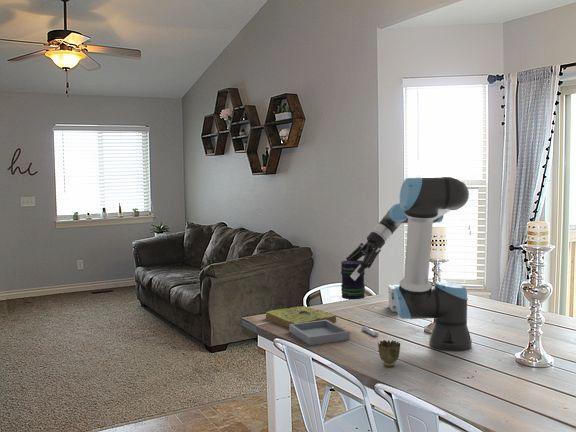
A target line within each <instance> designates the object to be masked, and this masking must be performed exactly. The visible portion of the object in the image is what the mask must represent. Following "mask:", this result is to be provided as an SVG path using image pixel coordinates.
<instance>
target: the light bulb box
mask: <svg viewBox="0 0 576 432" xmlns="http://www.w3.org/2000/svg"><path fill="white" fill-rule="evenodd" d="M399 286H400V284H388V308H389V310H390V311H391V312H395V313H396V312H397V310H396V306H395V300H394V289H395V288H397V287H399Z"/></svg>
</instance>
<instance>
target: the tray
mask: <svg viewBox="0 0 576 432" xmlns="http://www.w3.org/2000/svg"><path fill="white" fill-rule="evenodd" d="M288 329H289V331H288V332H289V333H290V332H291V334H292V335H293V334H294V335H293V336H295V337H297V339H299V340H301V341H302V342H304V343H305V344H307V346H313V345H314V346H315V345H316V346H317V345H321V344H329V343H335V342H343V341H349V340H350V331H348V330H347V329H345V328H343V327H341V326H339V325H338V324H336V323H335V322H334V323H332V322H330V321H328V320H320V321H312V322H304V323H296V324H289V328H288Z"/></svg>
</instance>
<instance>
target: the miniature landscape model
mask: <svg viewBox="0 0 576 432" xmlns="http://www.w3.org/2000/svg"><path fill="white" fill-rule="evenodd" d="M265 319H266V320H268V319H269V320H268V321H270V320H271V322H274V323H276V324H278V325H280V326H283V327H286V328H288V327H289V324H296V323H304V322H312V321H320V320H328V321H330V322H332V323H334V324H335V323H337V315H336V314H333V313H331V312H327V311H324V310H321V309H316V308H312V307H310V306H305V305H303V306H301V305H299V306H295V307H289V308H286V307H284V308H281V309H279V308H278V309H273V310H269V311H266V312H265Z"/></svg>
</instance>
